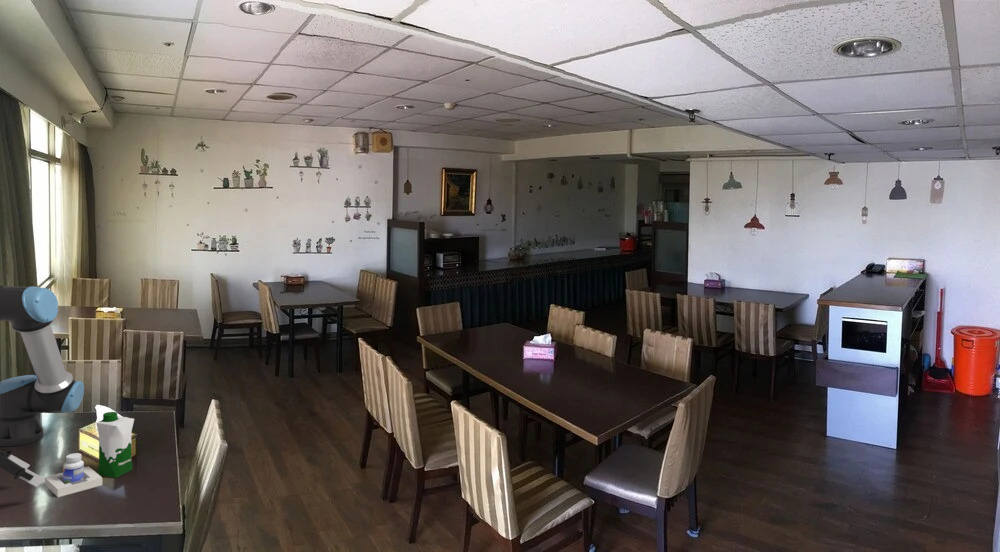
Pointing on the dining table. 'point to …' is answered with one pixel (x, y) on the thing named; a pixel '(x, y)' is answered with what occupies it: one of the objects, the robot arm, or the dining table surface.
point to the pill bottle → (73, 468)
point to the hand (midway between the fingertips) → (33, 475)
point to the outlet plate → (73, 483)
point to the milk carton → (114, 445)
